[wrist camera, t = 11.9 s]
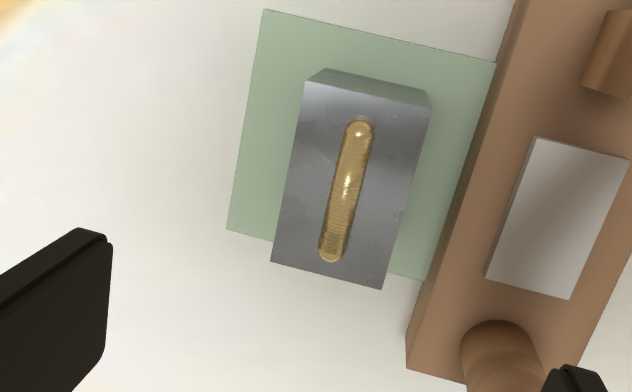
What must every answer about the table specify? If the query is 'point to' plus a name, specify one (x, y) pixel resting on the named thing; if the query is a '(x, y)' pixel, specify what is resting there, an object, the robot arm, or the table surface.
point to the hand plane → (535, 204)
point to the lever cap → (350, 175)
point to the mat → (370, 61)
